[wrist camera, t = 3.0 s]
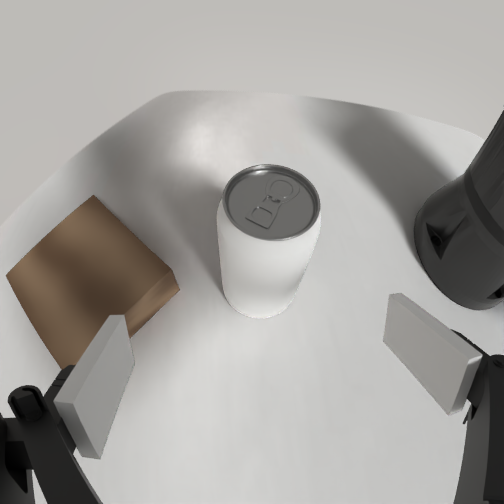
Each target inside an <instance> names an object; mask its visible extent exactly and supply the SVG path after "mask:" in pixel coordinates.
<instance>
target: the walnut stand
mask: <svg viewBox="0 0 504 504" xmlns="http://www.w3.org/2000/svg"><path fill="white" fill-rule="evenodd" d="M6 277H7V279H8V281H9V283H10V285H11V287H12V289H13V291H14V293H15V295H16V297H17V298H18V300H19V302H20V304H21V306H22V308H23V309H24V311H25V313H26V315H27V316H28V318H29V320H30V321H31V323H32V325H33V326H34V328H35V330H36V331H37V333H38V335H39V336H40V338H41V339H42V341H43V343H44V344H45V346H46V347H47V349H48V350H49V352H50V353H51V355H52V356H53V358H54V359H55V361H56V362H57V363H58V365H59V366H60V368H61V369H62V370H63V369H64V368H65V367H67V366H68V365H76V364H77V363H78V361H79V360H80V358H81V357H82V355H83V353H84V352H85V350H86V349H87V347H88V346H89V345H90V343H91V342H92V340H93V339H94V337H95V336H96V334H97V333H98V331H99V330H100V328H101V327H102V326H103V324H104V323H105V321H106V320H107V318H108V317H109V315H124V316H125V321H126V326H127V331H128V335H129V339H130V338H131V337H132V336H133V335H134V334H135V333H136V332H137V331H138V330H139V329H140V328H141V327H142V326H143V325H144V324H145V323H146V322H147V321H148V320H149V319H150V318H151V317H152V316H153V315H154V314H155V313H156V312H157V311H158V310H159V309H160V308H161V307H162V306H164V305H165V304H166V303H167V302H168V301H169V300H170V299H171V298H172V297H173V296H174V295H175V294H176V293H177V292H178V291H179V290H180V289H179V287H178V284H177V282H176V279H175V277H174V274H173V272H172V269H171V268H170V267H169V266H168V265H166V264H165V263H164V262H163V261H162V260H161V259H160V258H159V257H158V256H157V255H156V254H154V253H153V252H152V251H151V250H150V249H149V248H148V247H147V246H146V245H145V244H144V243H143V242H142V241H140V240H139V239H138V238H137V237H136V236H135V235H134V234H133V233H132V232H131V231H130V230H129V229H128V228H127V227H126V226H125V225H124V224H123V223H122V222H121V221H120V220H119V219H118V218H116V217H115V216H114V215H113V214H112V213H111V212H110V211H109V210H108V209H107V208H106V207H105V206H104V205H103V204H102V203H101V202H100V201H99V200H98V199H97V198H96V197H95V196H94V195H93V196H91V197H90V198H89V199H88V200H86V201H85V202H84V203H83V204H82V205H80V206H79V207H78V208H77V209H76V210H74V211H73V212H72V213H71V214H70V215H69V216H67V217H66V218H65V219H64V220H63V221H62V222H61V223H59V224H58V225H57V226H56V227H55V228H54V229H53V230H52V231H51V232H49V233H48V234H47V235H46V236H45V237H44V238H43V239H42V240H41V241H40V242H39V243H38V244H37V245H36V246H35V247H33V248H32V249H31V250H30V251H29V252H28V253H27V254H26V255H25V256H24V257H23V258H22V259H21V260H20V261H19V262H18V263H17V264H16V265H15V266H14V267H13V268H12V269H11V270H10V271H9V272H8V274H7V275H6Z"/></svg>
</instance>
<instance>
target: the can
mask: <svg viewBox="0 0 504 504" xmlns="http://www.w3.org/2000/svg"><path fill="white" fill-rule="evenodd" d="M320 228H321V215H320V199H319V195H318V193H317V191H316V189H315V187H314V186H313V185H312V183H311V182H310V181H309V180H308V179H307V178H306V177H304V176H303V175H302V174H300V173H298V172H297V171H295V170H292V169H290V168H287V167H284V166H279V165H271V164H264V165H256V166H252V167H249V168H246V169H244V170H242V171H240V172H238V173H237V174H236V175H234V176H233V177H232V178H231V179H230V180H229V182H228V183H227V185H226V187H225V189H224V192H223V197H222V199H221V201H220V203H219V206H218V210H217V233H218V245H219V256H220V266H221V276H222V284H223V290H224V294H225V297H226V299H227V301H228V302H229V304H230V305H231V306H232V307H233V308H234V309H235V310H236V311H238V312H239V313H241V314H243V315H245V316H248V317H251V318H260V319H261V318H269V317H273V316H275V315H278V314H279V313H281V312H282V311H284V310H285V309H286V308H287V307H288V306H289V305H290V303H291V302H292V300H293V298H294V296H295V294H296V291H297V289H298V287H299V284H300V282H301V280H302V277H303V275H304V272H305V270H306V267H307V265H308V262H309V260H310V257H311V255H312V252H313V250H314V247H315V244H316V242H317V239H318V236H319V233H320Z"/></svg>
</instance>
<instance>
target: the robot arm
mask: <svg viewBox="0 0 504 504" xmlns="http://www.w3.org/2000/svg"><path fill="white" fill-rule="evenodd" d="M414 235H415V243H416V247H417V251H418V254H419V257H420V259H421V261H422V264H423V266H424V267H425V269H426V271H427V273H428V274H429V276H430V277H431V279H432V280H433V282H434V283H435V284H436V285H437V286H438V288H439V289H440V290H441V291H442V292H443V293H444V294H445V295H447V296H448V297H449V298H450V299H451V300H453V301H454V302H456V303H458V304H459V305H461V306H463V307H466V308H469V309H473V310H486V309H489V308H492V307H494V306H495V305H497V304H498V303H500V302H501V301H503V300H504V110H503V112H502V114H501V116H500V118H499V119H498V121H497V123H496V125H495V126H494V128H493V130H492V131H491V133H490V135H489V136H488V138H487V139H486V141H485V142H484V144H483V146H482V147H481V149H480V150H479V152H478V153H477V155H476V156H475V158H474V159H473V161H472V163H471V164H470V166H469V167H468V169H467V170H466V171H465V173H464V174H463V175H461V176H460V177H458V178H457V179H455V180H454V181H452V182H451V183H449V184H447V185H446V186H444V187H443V188H441V189H440V190H438V191H437V192H435V193H434V194H432V195H431V196H430V197H429V198H428V200H427V201H426V202H425V204H424V205H423V207H422V208H421V210H420V211H419V213H418V215H417V217H416V221H415V227H414ZM383 342H384V343H385V344H386V345H387V346H388V347H389V348H390V350H391V351H392V352H393V353H394V354H395V355H396V356H397V357H398V358H399V360H400V361H401V362H402V363H403V364H404V365H405V366H406V367H407V369H408V370H409V371H410V372H411V373H412V374H413V375H414V376H415V378H416V379H417V380H418V381H419V382H420V383H421V384H422V386H423V387H424V388H425V389H426V390H427V391H428V393H429V394H430V395H431V396H432V397H433V398H434V399H435V401H436V402H437V403H438V404H439V405H440V406H441V408H442V409H443V410H444V411H445V412H446V413H447V415H448V416H449V415H452V414H454V413H457V412H459V411H461V410H462V409H463V407H464V404H465V402H466V399H468V400H469V401H470V402H471V406H470V408H469V410H468V412H467V415H466V417H465V419H464V421H463V424H465V423H466V421H467V420H468V422H467V431H466V440H465V447H464V454H463V460H462V466H461V471H460V477H459V482H458V486H457V491H456V495H455V500H454V504H504V355H492V356H489V355H488V354H487V353H485V352H484V351H483V350H482V349H480V348H479V347H478V346H476V345H475V344H473V342H471V341H470V340H469V339H468V340H467V338H466V337H465V336H463V335H462V334H461V333H459V332H456V331H454V330H452V329H449V328H448V327H447V326H445V325H444V324H443V323H441V322H440V321H439V320H437V319H436V318H435V317H433V316H432V315H431V314H429V313H428V312H427V311H425V310H424V309H423V308H421V307H420V306H419V305H417V304H416V303H415V302H413V301H412V300H410V299H409V298H408V297H406V296H405V295H404V294H402V293H397V294H390V295H389V301H388V309H387V317H386V324H385V331H384V337H383ZM134 365H135V361H134V357H133V352H132V348H131V344H130V340H129V335H128V331H127V326H126V321H125V316H124V315H109V317H108V318H107V320H106V321H105V323H104V324H103V326H102V327H101V328H100V330H99V331H98V333H97V334H96V336H95V337H94V339H93V340H92V342H91V343H90V345H89V346H88V347H87V349H86V350H85V352H84V353H83V355H82V357H81V358H80V360H79V361H78V363H77V364H76V365H68V366H67V367H65V368H64V369H63V370H61V371H60V373H59V374H58V376H57V377H56V380H54V382H53V383H52V386H50V388H49V389H48V391H47V392H46V394H45V395H44V397H43V396H42V393H41V391H40V390H39V388H38V387H35V386H32V385H26V386H21V387H19V388H17V389H15V390H14V391H13V392H11V393H10V395H9V397H8V403H9V405H10V407H11V409H12V411H13V413H14V415H15V417H16V418H3V417H2V415H1V413H0V504H35V499H34V490H33V480H32V470H34V472H35V475H36V478H37V480H38V483H39V485H40V487H41V490H42V492H43V494H44V497H45V499H46V501H47V503H48V504H103V503H102V502H101V500H100V499H99V497H98V495H97V494H96V492H95V491H94V489H93V488H92V486H91V484H90V483H89V481H88V479H87V478H86V476H85V474H84V473H83V471H82V469H81V467H80V466H79V464H78V462H77V460H76V459H75V457H74V455H73V453H74V450H75V448H76V447H77V449H78V451H79V453H80V454H81V456H82V457H87V458H94V459H101V456H102V453H103V450H104V447H105V444H106V441H107V438H108V435H109V432H110V429H111V426H112V423H113V421H114V418H115V415H116V412H117V409H118V407H119V404H120V401H121V399H122V396H123V393H124V391H125V388H126V385H127V383H128V380H129V377H130V375H131V372H132V370H133V367H134Z"/></svg>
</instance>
